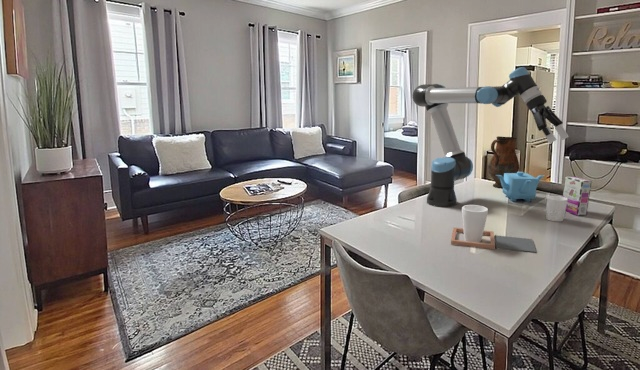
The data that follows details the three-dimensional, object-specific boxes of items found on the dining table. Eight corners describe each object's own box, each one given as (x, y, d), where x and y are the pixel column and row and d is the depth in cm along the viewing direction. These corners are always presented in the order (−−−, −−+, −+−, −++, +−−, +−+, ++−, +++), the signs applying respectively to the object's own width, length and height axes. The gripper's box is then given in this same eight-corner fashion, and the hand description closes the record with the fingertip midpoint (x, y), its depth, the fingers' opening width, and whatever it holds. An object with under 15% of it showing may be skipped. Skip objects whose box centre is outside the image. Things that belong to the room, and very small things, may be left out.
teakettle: (509, 192, 219) (511, 167, 216) (544, 199, 205) (547, 172, 201) (492, 198, 208) (494, 172, 205) (527, 206, 194) (530, 177, 190)
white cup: (567, 222, 169) (570, 200, 167) (548, 221, 171) (550, 200, 168) (560, 216, 176) (563, 195, 174) (541, 216, 178) (544, 195, 176)
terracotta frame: (450, 244, 149) (451, 240, 148) (453, 230, 162) (453, 227, 162) (494, 249, 143) (494, 245, 143) (493, 235, 157) (493, 231, 156)
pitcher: (523, 186, 230) (528, 136, 223) (501, 192, 220) (506, 140, 213) (498, 181, 244) (502, 134, 237) (476, 186, 234) (480, 137, 227)
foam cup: (463, 233, 159) (465, 203, 156) (487, 237, 154) (490, 206, 151) (457, 241, 151) (459, 209, 148) (482, 245, 146) (484, 213, 143)
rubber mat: (496, 248, 144) (496, 247, 144) (495, 236, 155) (495, 235, 155) (536, 252, 139) (536, 251, 139) (531, 240, 151) (531, 239, 151)
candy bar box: (587, 215, 177) (592, 181, 173) (577, 216, 177) (582, 181, 173) (570, 208, 188) (574, 175, 184) (560, 209, 188) (564, 176, 184)
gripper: (529, 94, 161) (556, 138, 156) (553, 93, 176) (578, 132, 171) (513, 105, 167) (539, 147, 161) (538, 102, 182) (562, 141, 177)
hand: (559, 140), depth 166 cm, fingers open, 13 cm apart
